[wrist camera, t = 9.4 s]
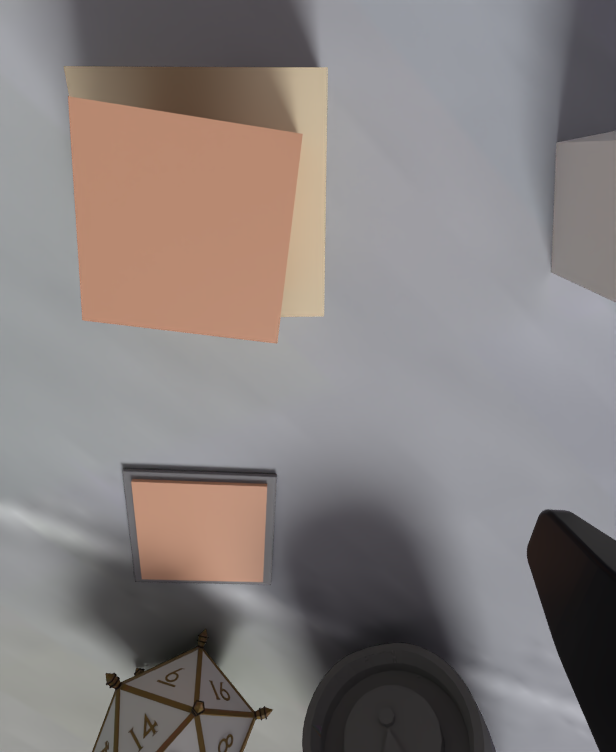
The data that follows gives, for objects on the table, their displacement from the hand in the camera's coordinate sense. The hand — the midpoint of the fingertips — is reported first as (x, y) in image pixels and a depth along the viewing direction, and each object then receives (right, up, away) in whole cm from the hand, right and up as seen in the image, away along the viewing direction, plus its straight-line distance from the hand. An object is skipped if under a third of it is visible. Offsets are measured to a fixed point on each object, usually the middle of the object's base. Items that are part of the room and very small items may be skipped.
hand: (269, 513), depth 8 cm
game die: (-6, -14, +19) cm, 25 cm away
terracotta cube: (-2, +7, +6) cm, 10 cm away
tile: (-4, -5, +15) cm, 16 cm away
